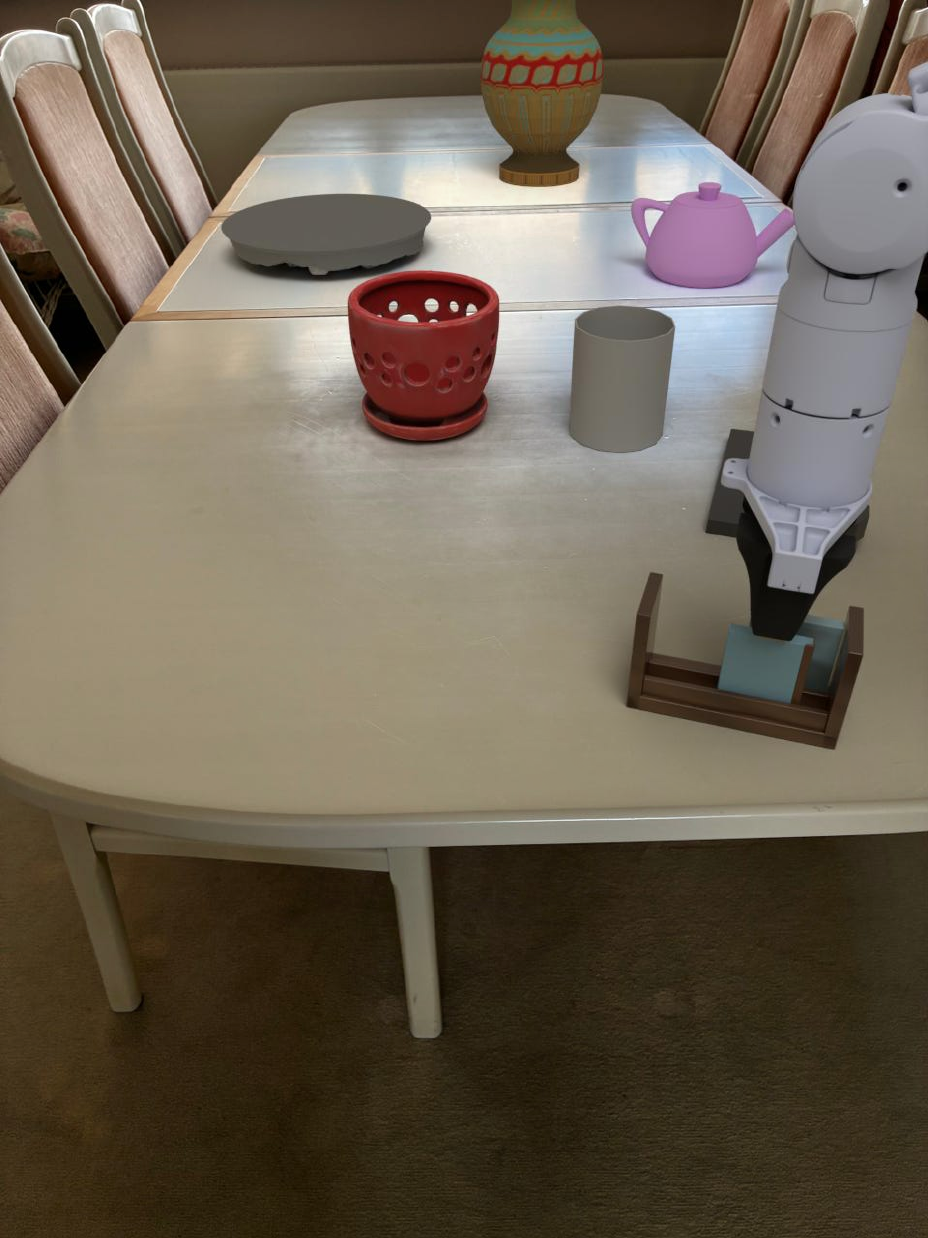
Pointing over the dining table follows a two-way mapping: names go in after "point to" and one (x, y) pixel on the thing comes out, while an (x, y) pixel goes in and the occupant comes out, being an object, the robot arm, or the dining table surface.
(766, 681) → the pane
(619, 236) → the dining table surface
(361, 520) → the dining table surface
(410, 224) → the flat disc
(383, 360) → the flower pot
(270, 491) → the dining table surface
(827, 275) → the robot arm
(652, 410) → the cup
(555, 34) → the vase
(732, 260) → the teapot
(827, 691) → the brown wooden rack
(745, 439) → the button block
